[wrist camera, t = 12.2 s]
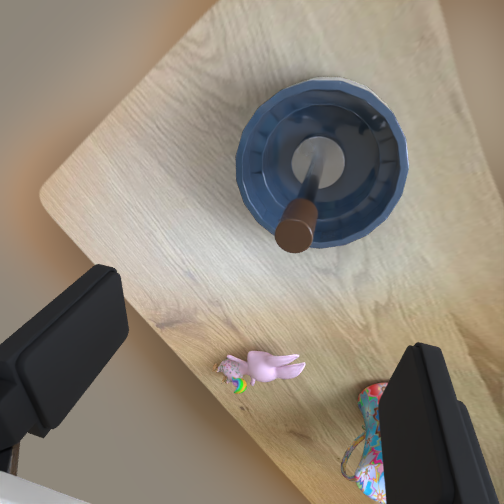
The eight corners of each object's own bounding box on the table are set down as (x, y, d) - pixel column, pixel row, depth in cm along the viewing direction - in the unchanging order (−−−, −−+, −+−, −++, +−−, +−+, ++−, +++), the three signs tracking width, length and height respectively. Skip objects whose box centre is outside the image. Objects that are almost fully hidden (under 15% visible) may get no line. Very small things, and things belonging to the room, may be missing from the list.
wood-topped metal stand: (283, 163, 30) (234, 238, 18) (316, 122, 27) (286, 175, 15) (320, 194, 30) (298, 288, 18) (356, 156, 28) (359, 236, 16)
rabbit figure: (237, 374, 51) (318, 365, 41) (220, 409, 46) (306, 407, 37) (213, 347, 49) (292, 331, 40) (192, 380, 44) (276, 371, 35)
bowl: (226, 167, 32) (207, 183, 28) (314, 37, 25) (307, 34, 21) (325, 247, 34) (321, 273, 30) (435, 148, 27) (451, 165, 22)
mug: (406, 366, 39) (421, 456, 30) (444, 413, 41) (469, 508, 33) (324, 391, 45) (317, 471, 37) (361, 430, 47) (363, 515, 39)
